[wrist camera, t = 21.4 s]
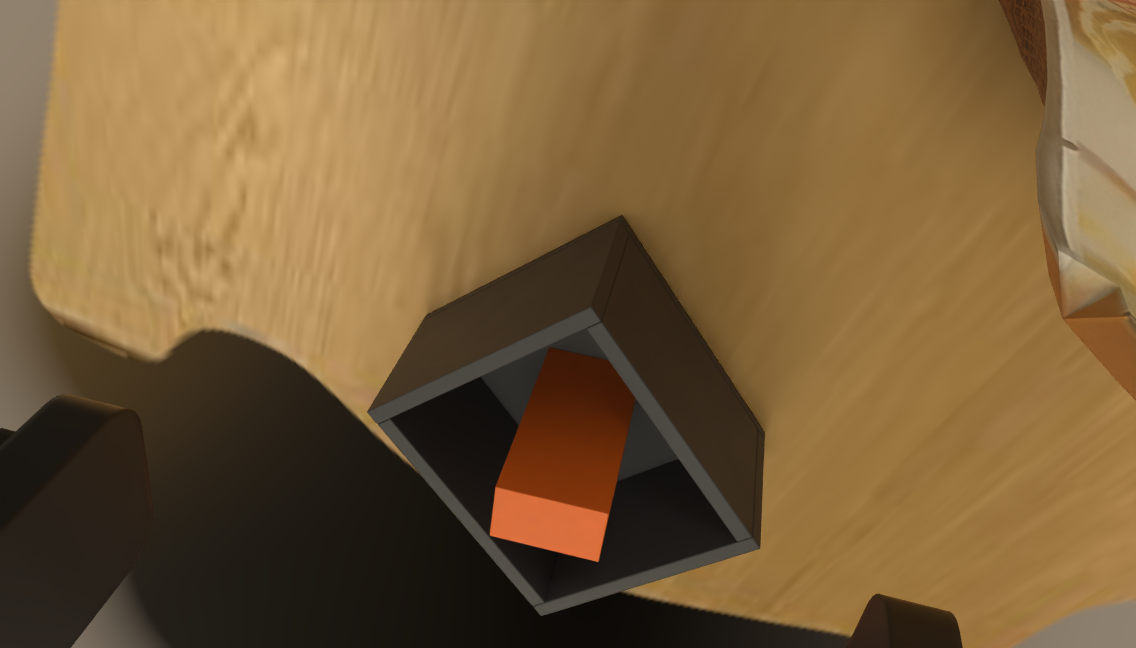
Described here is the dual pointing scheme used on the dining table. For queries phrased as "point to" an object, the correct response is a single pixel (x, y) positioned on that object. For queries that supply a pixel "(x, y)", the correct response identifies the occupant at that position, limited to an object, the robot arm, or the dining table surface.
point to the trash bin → (656, 434)
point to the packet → (565, 457)
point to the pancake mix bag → (1087, 165)
